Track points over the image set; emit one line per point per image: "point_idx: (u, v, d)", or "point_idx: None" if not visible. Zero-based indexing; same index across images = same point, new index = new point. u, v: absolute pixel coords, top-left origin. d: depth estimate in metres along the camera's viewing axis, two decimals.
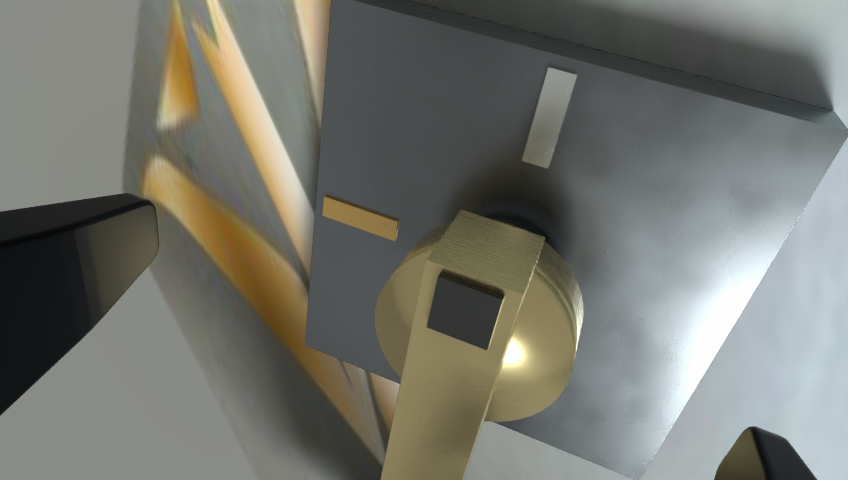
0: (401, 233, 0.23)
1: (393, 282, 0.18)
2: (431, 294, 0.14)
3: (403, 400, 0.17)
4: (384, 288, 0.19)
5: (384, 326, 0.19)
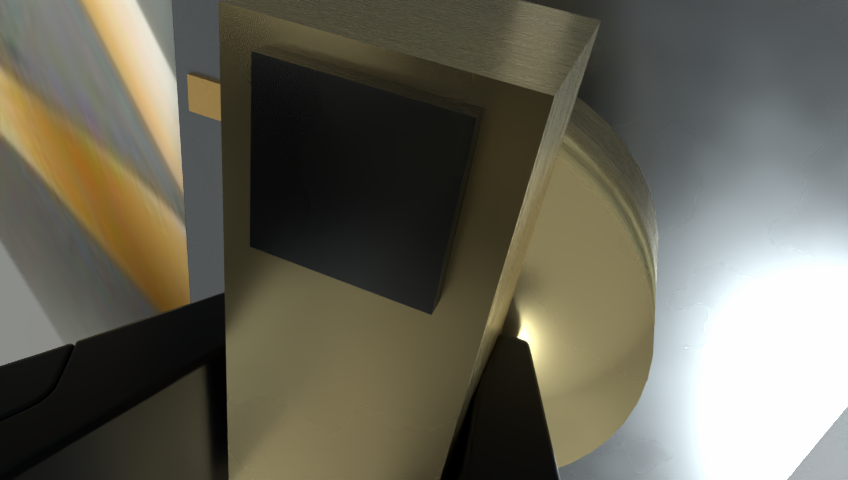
0: None
1: None
2: (251, 133, 0.04)
3: (242, 451, 0.07)
4: None
5: None
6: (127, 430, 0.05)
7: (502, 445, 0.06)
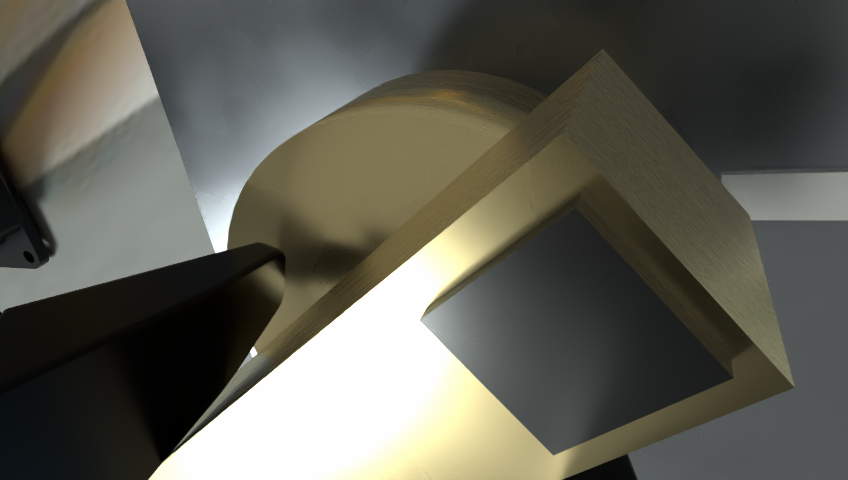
0: None
1: (324, 134, 0.08)
2: (498, 243, 0.04)
3: (238, 420, 0.07)
4: (297, 138, 0.08)
5: (255, 212, 0.09)
6: (47, 392, 0.05)
7: None
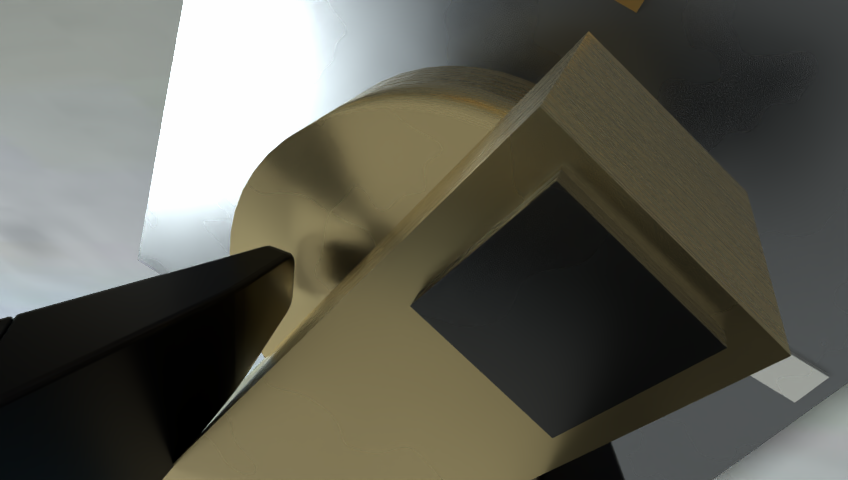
0: (602, 5, 0.10)
1: (319, 134, 0.08)
2: (484, 223, 0.04)
3: (242, 419, 0.07)
4: (292, 138, 0.08)
5: (255, 215, 0.09)
6: (60, 398, 0.05)
7: (574, 475, 0.06)
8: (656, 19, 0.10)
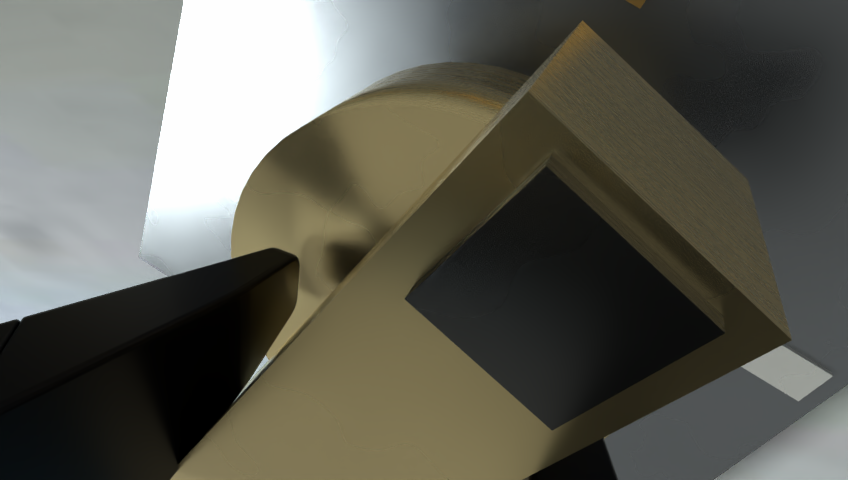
0: (606, 1, 0.10)
1: (316, 132, 0.08)
2: (476, 212, 0.04)
3: (242, 419, 0.07)
4: (290, 138, 0.08)
5: (255, 216, 0.09)
6: (68, 402, 0.05)
7: (566, 471, 0.06)
8: (660, 15, 0.10)
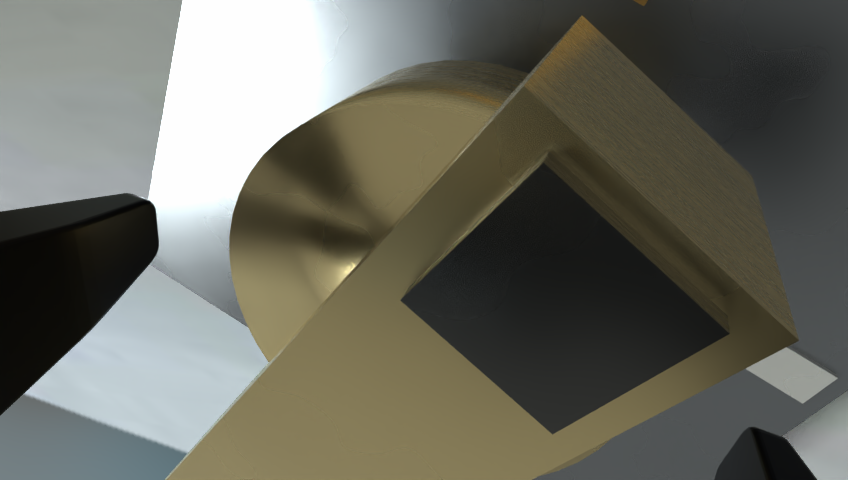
0: None
1: (313, 132, 0.08)
2: (472, 211, 0.04)
3: (239, 423, 0.06)
4: (287, 138, 0.08)
5: (253, 217, 0.09)
6: None
7: None
8: (664, 13, 0.10)
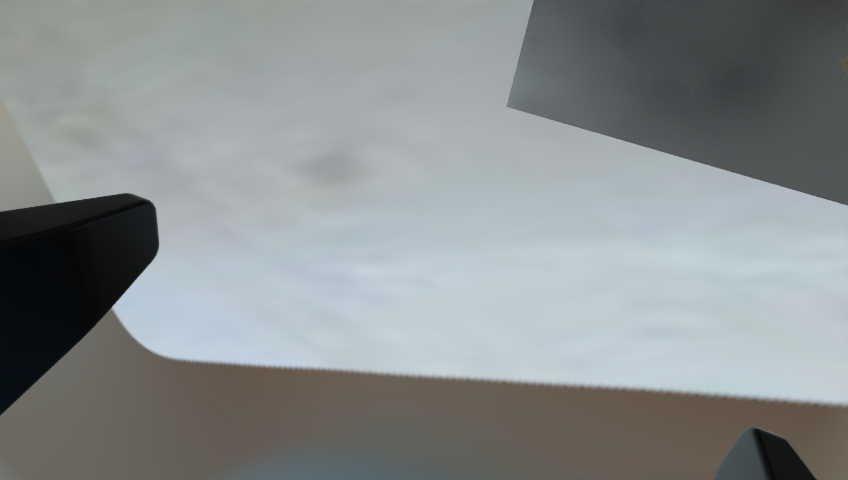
0: None
1: None
2: None
3: None
4: None
5: None
6: None
7: None
8: None
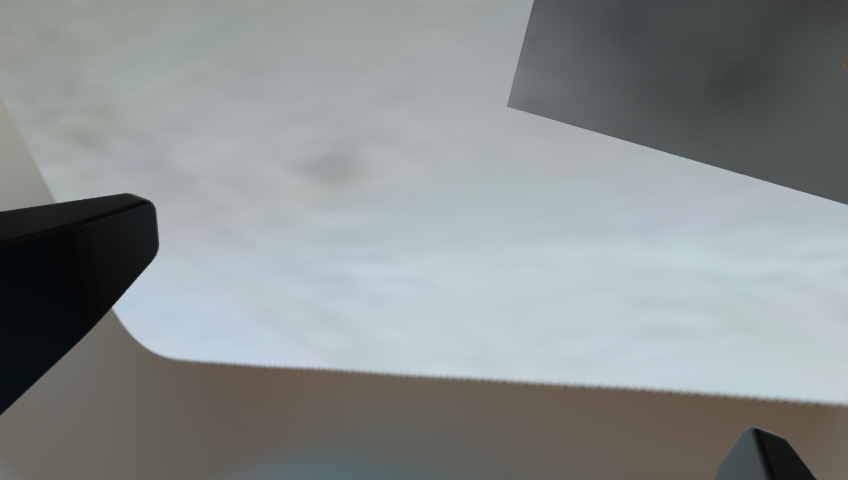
0: None
1: None
2: None
3: None
4: None
5: None
6: None
7: None
8: None
